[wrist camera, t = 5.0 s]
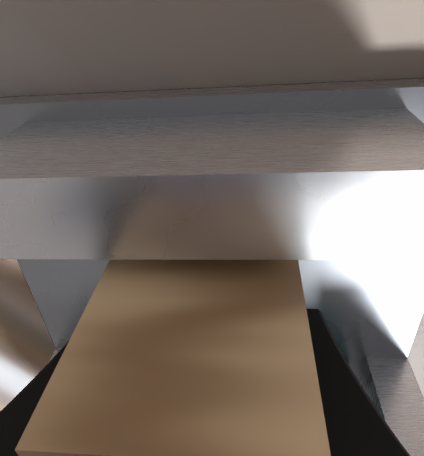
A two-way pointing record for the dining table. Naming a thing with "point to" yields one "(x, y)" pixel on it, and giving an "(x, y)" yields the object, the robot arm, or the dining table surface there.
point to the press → (233, 204)
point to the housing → (186, 366)
